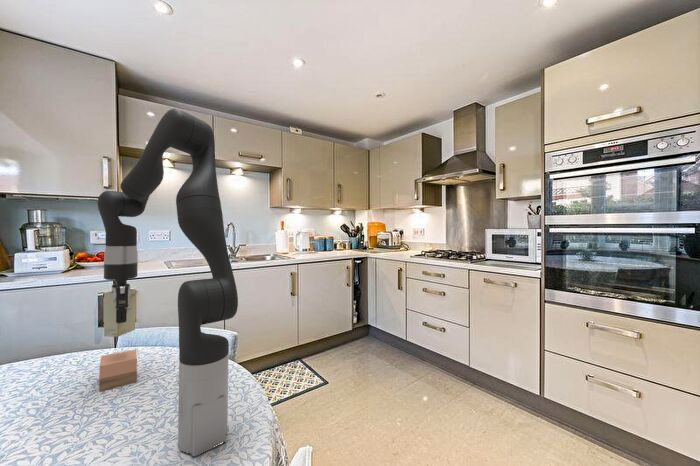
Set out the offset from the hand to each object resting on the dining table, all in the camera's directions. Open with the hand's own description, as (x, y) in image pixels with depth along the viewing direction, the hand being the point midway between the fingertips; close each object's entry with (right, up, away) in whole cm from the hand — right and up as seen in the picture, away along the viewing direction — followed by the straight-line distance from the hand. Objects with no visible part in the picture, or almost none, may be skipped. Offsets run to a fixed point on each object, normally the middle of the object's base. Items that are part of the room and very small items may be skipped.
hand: (120, 319), depth 82 cm
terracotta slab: (0, -14, 0) cm, 14 cm away
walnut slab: (-1, -18, 0) cm, 18 cm away
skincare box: (0, -4, 0) cm, 4 cm away
